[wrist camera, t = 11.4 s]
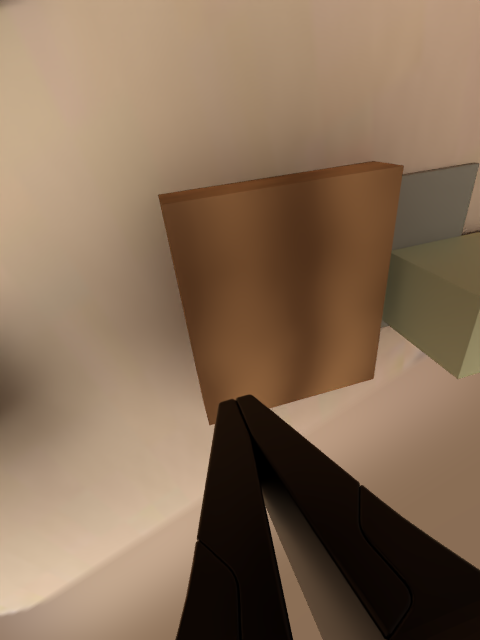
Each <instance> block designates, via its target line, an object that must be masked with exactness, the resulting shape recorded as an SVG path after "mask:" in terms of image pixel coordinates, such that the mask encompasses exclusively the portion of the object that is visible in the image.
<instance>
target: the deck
mask: <svg viewBox="0 0 480 640" xmlns="http://www.w3.org/2000/svg"><path fill="white" fill-rule="evenodd" d="M403 167H404V166H402V165H395V164H389V163H382V162H375V161H372V162H365V163H359V164H353V165H346V166H340V167H333V168H327V169H321V170H314V171H308V172H301V173H295V174H289V175H282V176H276V177H269V178H263V179H257V180H250V181H244V182H237V183H231V184H225V185H218V186H212V187H205V188H199V189H193V190H186V191H180V192H173V193H167V194H161V195H158V196H159V200H160V205H161V209H162V214H163V219H164V223H165V228H166V232H167V237H168V242H169V246H170V251H171V255H172V260H173V264H174V269H175V274H176V278H177V283H178V287H179V292H180V296H181V301H182V306H183V310H184V315H185V319H186V324H187V329H188V333H189V338H190V342H191V347H192V351H193V356H194V361H195V365H196V370H197V374H198V379H199V384H200V388H201V393H202V397H203V401H204V405H205V409H206V413H207V417H208V421H209V425H212V424H215V422H216V416H217V410H218V404H219V403H220V402H222V401H226V400H230V399H234V400H236V398H237V397H241V396H244V395H248V394H251V395H253V396H254V397H255V398H257V399H258V400H259V401H260V402H262V403H263V404H264V405H265V406H266V407H268V408H272V407H276V406H279V405H283V404H286V403H290V402H293V401H297V400H300V399H304V398H307V397H311V396H314V395H318V394H321V393H325V392H329V391H332V390H336V389H339V388H343V387H346V386H350V385H353V384H357V383H360V382H364V381H367V380H371V379H373V378H374V371H375V364H376V357H377V350H378V343H379V336H380V329H381V322H382V315H383V308H384V301H385V294H386V287H387V279H388V272H389V265H390V258H391V251H392V244H393V237H394V230H395V223H396V216H397V209H398V202H399V195H400V188H401V181H402V174H403Z"/></svg>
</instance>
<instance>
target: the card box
mask: <svg viewBox="0 0 480 640" xmlns="http://www.w3.org/2000/svg"><path fill="white" fill-rule="evenodd" d="M382 320H383V321H384V322H385V323H387V324H388V325H389V326H390V327H392V328H393V329H394V330H396V331H397V332H398V333H399V334H401V335H402V336H403V337H405V338H406V339H407V340H408V341H410V342H411V343H412V344H413V345H415V346H416V347H417V348H419V349H420V350H421V351H422V352H424V353H425V354H426V355H428V356H429V357H430V358H431V359H433V360H434V361H435V362H436V363H438V364H439V365H440V366H442V367H443V368H444V369H445V370H447V371H448V372H449V373H450V374H452V375H453V376H455V377H456V378H457V379H460V378H463V377H466V376H470V375H473V374H477V373H480V232H477V233H472V234H467V235H463V236H458V237H453V238H449V239H444V240H439V241H435V242H430V243H425V244H420V245H416V246H411V247H406V248H402V249H397V250H392V251H391V258H390V265H389V272H388V279H387V287H386V294H385V301H384V308H383V315H382Z"/></svg>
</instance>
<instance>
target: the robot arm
mask: <svg viewBox="0 0 480 640" xmlns="http://www.w3.org/2000/svg"><path fill="white" fill-rule="evenodd" d="M265 506H266V507H265ZM266 508H267V511H268V513H269V515H270V518H271V520H272V522H273V525H274V527H275V529H276V532H277V534H278V536H279V538H280V541H281V543H282V545H283V548H284V550H285V552H286V555H287V557H288V559H289V562H290V564H291V566H292V569H293V571H294V573H295V576H296V578H297V580H298V583H299V585H300V587H301V589H302V592H303V594H304V597H305V599H306V601H307V603H308V606H309V608H310V610H311V613H312V615H313V617H314V620H315V622H316V624H317V627H318V629H319V631H320V634H321V636H322V638H323V640H480V570H479V569H477V568H476V567H475V566H473V565H472V564H470V563H469V562H467V561H466V560H464V559H463V558H461V557H460V556H458V555H457V554H455V553H454V552H452V551H451V550H450V549H448V548H447V547H445V546H444V545H442V544H441V543H439V542H438V541H436V540H435V539H433V538H432V537H430V536H429V535H428V534H426V533H425V532H423V531H422V530H420V529H419V528H417V527H416V526H415V525H413V524H412V523H410V522H409V521H408V520H406V519H405V518H403V517H402V516H401V515H399V514H398V513H397V512H396V511H394V510H393V509H392V508H390V507H389V506H388V505H386V504H385V503H384V502H383V501H381V500H380V499H379V498H378V497H376V496H375V495H374V494H373V493H371V492H370V491H369V490H368V489H367V488H365V487H364V486H363V485H361V486H360V483H359V482H358V481H357V480H355V479H354V478H353V477H352V476H351V475H349V474H348V473H347V472H346V471H344V470H343V469H342V468H341V467H340V466H338V465H337V464H336V463H335V462H333V461H332V460H331V459H330V458H329V457H327V456H326V455H325V454H324V453H322V452H321V451H320V450H319V449H318V448H316V447H315V446H314V445H313V444H311V443H310V442H309V441H308V440H307V439H305V438H304V437H303V436H302V435H301V434H299V433H298V432H297V431H296V430H295V429H293V428H292V427H291V426H290V425H288V424H287V423H286V422H285V421H284V420H282V419H281V418H280V417H279V416H277V415H276V414H275V413H274V412H273V411H271V410H270V409H269V408H268V407H266V406H265V405H264V404H263V403H262V402H260V401H259V400H258V399H257V398H255V397H254V396H253V395H251V394H248V395H244V396H241V397H237V398H236V400H234V399H230V400H226V401H222V402H220V403H219V404H218V410H217V416H216V422H215V428H214V434H213V441H212V447H211V453H210V459H209V466H208V472H207V478H206V484H205V490H204V497H203V503H202V509H201V516H200V522H199V528H198V535H197V542H196V545H195V551H194V557H193V563H192V569H191V574H190V580H189V584H188V589H187V595H186V599H185V603H184V607H183V612H182V616H181V620H180V624H179V628H178V632H177V636H176V640H293V637H292V632H291V627H290V623H289V618H288V613H287V608H286V603H285V599H284V594H283V589H282V584H281V579H280V574H279V570H278V565H277V560H276V555H275V550H274V546H273V541H272V537H271V531H270V526H269V522H268V517H267V512H266Z"/></svg>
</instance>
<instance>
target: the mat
mask: <svg viewBox="0 0 480 640" xmlns="http://www.w3.org/2000/svg"><path fill="white" fill-rule="evenodd" d="M478 167H479V163H469V164H463V165H457V166H451V167H446V168H440V169H434V170H428V171H422V172H416V173H410V174H404V175H402V181H401V188H400V195H399V202H398V209H397V216H396V223H395V230H394V237H393V244H392V250H397V249H402V248H406V247H411V246H416V245H420V244H425V243H430V242H435V241H439V240H444V239H449V238H453V237H458V236H461V235H462V231H463V227H464V223H465V219H466V215H467V211H468V207H469V203H470V199H471V195H472V191H473V187H474V183H475V179H476V175H477V171H478ZM386 326H389V325H388V324H387V323H385V322H384V321H383V320H382V322H381V328H382V327H386Z"/></svg>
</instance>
